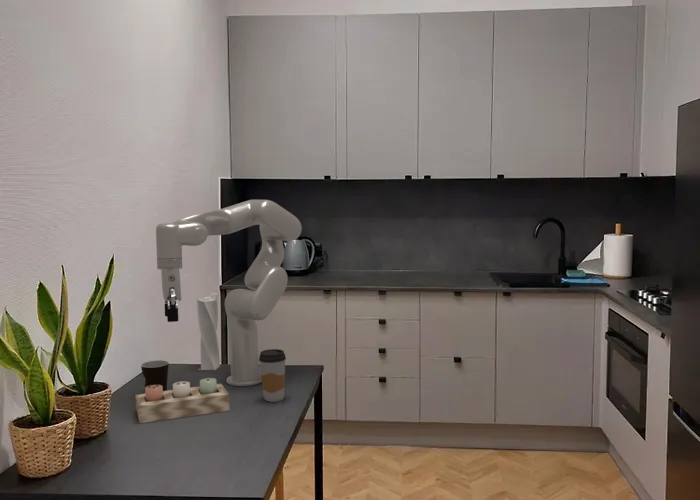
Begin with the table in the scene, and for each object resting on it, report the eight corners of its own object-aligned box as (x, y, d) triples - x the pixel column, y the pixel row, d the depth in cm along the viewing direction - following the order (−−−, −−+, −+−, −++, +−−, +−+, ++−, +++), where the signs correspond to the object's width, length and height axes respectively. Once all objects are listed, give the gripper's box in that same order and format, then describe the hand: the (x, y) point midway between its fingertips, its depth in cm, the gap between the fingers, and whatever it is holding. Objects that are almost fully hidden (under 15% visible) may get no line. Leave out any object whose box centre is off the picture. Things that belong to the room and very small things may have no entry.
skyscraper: (225, 365, 272) (221, 291, 269) (218, 372, 264) (215, 294, 261) (202, 365, 273) (198, 291, 270) (196, 372, 265) (191, 295, 262)
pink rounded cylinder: (162, 400, 222) (161, 383, 221) (164, 404, 217) (163, 387, 217) (145, 402, 220) (144, 385, 220) (146, 407, 216) (145, 390, 215)
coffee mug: (166, 397, 235) (164, 367, 234) (139, 398, 235) (137, 367, 234) (175, 386, 246) (173, 357, 245) (149, 387, 247) (148, 358, 246)
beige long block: (222, 399, 232) (221, 383, 232) (229, 410, 221) (228, 394, 220) (136, 410, 223) (135, 394, 223) (139, 423, 212) (138, 406, 211)
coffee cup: (289, 394, 234) (287, 348, 233) (284, 403, 226) (282, 355, 224) (263, 394, 235) (261, 348, 234) (258, 403, 227) (255, 355, 225)
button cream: (189, 396, 225) (188, 379, 224) (191, 401, 220) (190, 384, 220) (172, 398, 223) (171, 382, 223) (174, 403, 218) (173, 386, 218)
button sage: (215, 393, 228) (214, 376, 227) (218, 397, 223) (217, 380, 222) (199, 395, 226) (198, 378, 225) (201, 399, 221) (201, 383, 221)
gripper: (185, 266, 219) (186, 322, 221) (179, 260, 236) (181, 313, 237) (159, 267, 217) (161, 324, 219) (155, 261, 233) (157, 314, 235)
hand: (171, 318), depth 228 cm, fingers open, 9 cm apart
